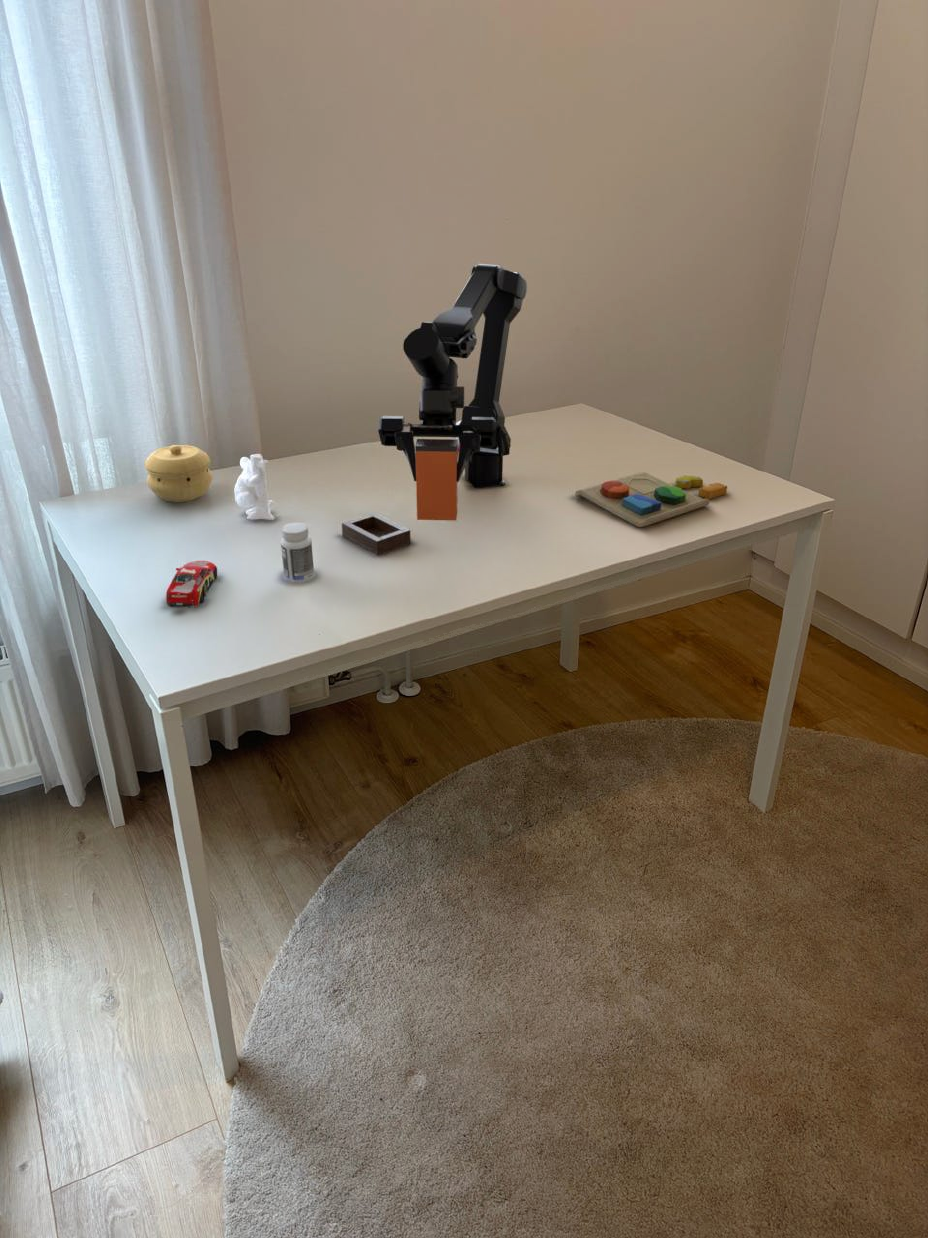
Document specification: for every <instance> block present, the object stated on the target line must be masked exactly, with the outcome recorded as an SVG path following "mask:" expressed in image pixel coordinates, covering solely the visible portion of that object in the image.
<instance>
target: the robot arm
mask: <svg viewBox="0 0 928 1238" xmlns="http://www.w3.org/2000/svg"><path fill="white" fill-rule="evenodd" d="M527 283H528V282H527V280H526V279H525V278H524V277H523V276H522V274H521V272H518V271H510V270H507V269H506V268H504V267H503V266H500V265H499V264H487V263H478V264H474V265H473V266H472V269H471V273H470V277H469V279H468V281H467V282H466V283H465V285H464V287H463V289H462V290H461V292H460V294H459V296H458V297H457V298H456V300H455V302H454V303H453V305H452V307H451V308H449V309H448V310H445V311H443V312H440V313H439V314H438V315H437V316H436V317H435V318H434V319H433V320H432V322H429V321H422V322H421V324H420V327H419V328H416V329H414V330H412V331H410V333H409V334H408V335H407V336H406V337H404V340H403V344H402V347H403V348H402V349H403V352H404V354H405V356H406V358H407V359H408V361H409V362H410V363H411V365H412V367H413V369H414V370H415V371H416V373H417V375H419V376H420V377H422V380H421V381H422V383H421V391H420V401H419V406H418V411H419V412H418V420H419V421H420V423H419V424H415V423H413V424H412V423H411V422H405V417H404V415H382V416H381V417H380V418H379V419H378V425H377V432H378V435H379V440H380V445H382V446H385V447H396V450H397V451H402V452H403V453H404V456H405V457H406V460H407V462H408V463H409V468H410V471H411V475H412V478H413V481H414V482H416V451H415V446H416V444H415V440H414V438H416V437H417V438H454V437H459V443H460V444H459V443H458V444H459V447H460V449H458V450H459V451H458V456H457V478H456V480H457V482H458V483H459V482H460V480H461V478H462V476H463V474H464V479H465V480H466V482H468V483H469V484H470V486H471V487H472V488H473V489H479V488H489V487H500V486H501V487H502V486H505V485H506V482H505V480H504V479H503V470H504V469H503V468H504V467H503V465H504V456H509V455H510V454H511V452H510V450H511V443H512V439H511V437H510V435H509V432H508V430H507V428H506V426H505V422H506V417H505V414H504V411H503V409H502V407H501V404H500V397H501V396H500V395H501V389H502V383H503V377H504V376H503V375H504V368H505V361H506V354H507V347H508V341H509V340H508V339H509V334H510V326H511V323H512V322H513V320H514V319H515V318H516V317H517V316H518V314H519V313H520V312H521V310H522V306H523V301H524V299H525V298H526V295H527V291H528V289H527V287H528V286H527V285H528V284H527ZM482 316H484V325H483V332H482V339H481V346H480V352H479V359H478V360H479V361H478V368H477V374H476V382H475V387H474V396H473V399H472V400H471V401H470V403H469V404H468V405H465V386H458V379H459V374H458V372H459V371H458V368H459V367H458V364H457V363H456V361H455V360H454V359H453V358H455V359H456V358H457V359H468V358H469V357H470V355H471V354H472V352H473V351H474V350H475V347H476V345H477V342H478V341H477V340H478V339H477V333H476V326H477V325H478V323H479V321H480V319H481V317H482ZM457 409H462V412H461V420H460V421H461V422H460V424H459V425H456V423H457Z"/></svg>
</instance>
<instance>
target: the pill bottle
mask: <svg viewBox="0 0 928 1238" xmlns="http://www.w3.org/2000/svg"><path fill="white" fill-rule="evenodd" d="M309 533H310V532H309V527H308V525H307V523H306V524H305V523H303V522H290V523H287V524H285V525H283V526H282V527H281V536H282V539H281V540H280V551H281V558H282V560H281V561H282V570H283V578H284V579H285V580H286V581H288V582H292V583H305V582H308V581H310V580H311V579H313V578H314V576H315V567H314V565H315V564H314V556H313V555H314V554H313V542H312V538H311V537H310V536H309Z"/></svg>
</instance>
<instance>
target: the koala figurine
mask: <svg viewBox="0 0 928 1238" xmlns="http://www.w3.org/2000/svg"><path fill="white" fill-rule="evenodd" d="M268 463H269V460H268V459H264V458H263V456H262V454H260V453H254V454H253V453H252V454H250V456H249V457H248V456H242V457H241V458H240V461H239V465H240V468H241V469H242V472H241V474H240V475H239V476H238V478H237V480H236V483H235V485H234V488H233V489H234V490H233V491H234V500H235V502H236V503H237V505H238V506H239V507H241V508H247V507H253V508H249V509H247V510H246V511H245V513H246V515H247V517H246V519H247V520H270V521H272V520H273V521H274V520H275V516H274V515H273V514H272V513H271V511H272V510H271V508H272V506H273V505H274V501H273V500H271V499H269V495H268V489H267V484H268V482H267V481H268V480H267V478H266V473H267V470H266V469H267V465H268Z"/></svg>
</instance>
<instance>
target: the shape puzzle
mask: <svg viewBox="0 0 928 1238" xmlns="http://www.w3.org/2000/svg"><path fill="white" fill-rule="evenodd" d="M674 483H675V484H674V485H673V484H670V483H668V482H666V481H664V480H662V479H660V478H658V477H656V476H654V475H653V474H651V473H648V472H645V471H640V472H637V473H633V474H630V475H626V476H623V477H618V478H616V479H612V480H607V481H604V482H602V483H599V484H596V485H592V486H588V487H585V488H582V489H578V490H576V491H575V492H574V494H575V497H576V498H581V497H583V498H585V499H587V500H589V501H590V502H592V503H593V504H595V505H597V506H599V507H601V508H603V509H605V510H606V511H608V512H610V513H612V514H614V515H615V516H618V517H619V518H621V519H623V520H625V521H626V522H629V523H630V524H631V525H634V526H636V527H639V528H644V527H647V526H650V525H652V524H656V523H659V522H662V521H664V520H668V519H672V518H673V517H676V516H677V517H678V516H679V515H683V514H686V513H689V512H692V511H695V510H697V509H701V508H703V507H707V506H709V505H710V503H711V500H712V499H714V498H718V497H721V496H724V495H726V494H727V492H728V491H727V490H728V485H725V484H722V483H720V482H713V483H708V485H707V486H703V483H704V480H703V478H701V477H700V476H694V475H687V474H686V475H682V476H679V477H677V478H675V482H674ZM690 488H698V493H697V495H698V496H699V497H701V498H704V499H700V498H699V497H696V496H694V495H693V494H691V493H688V492H686V491H684V489H685V490H688V489H690Z"/></svg>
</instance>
